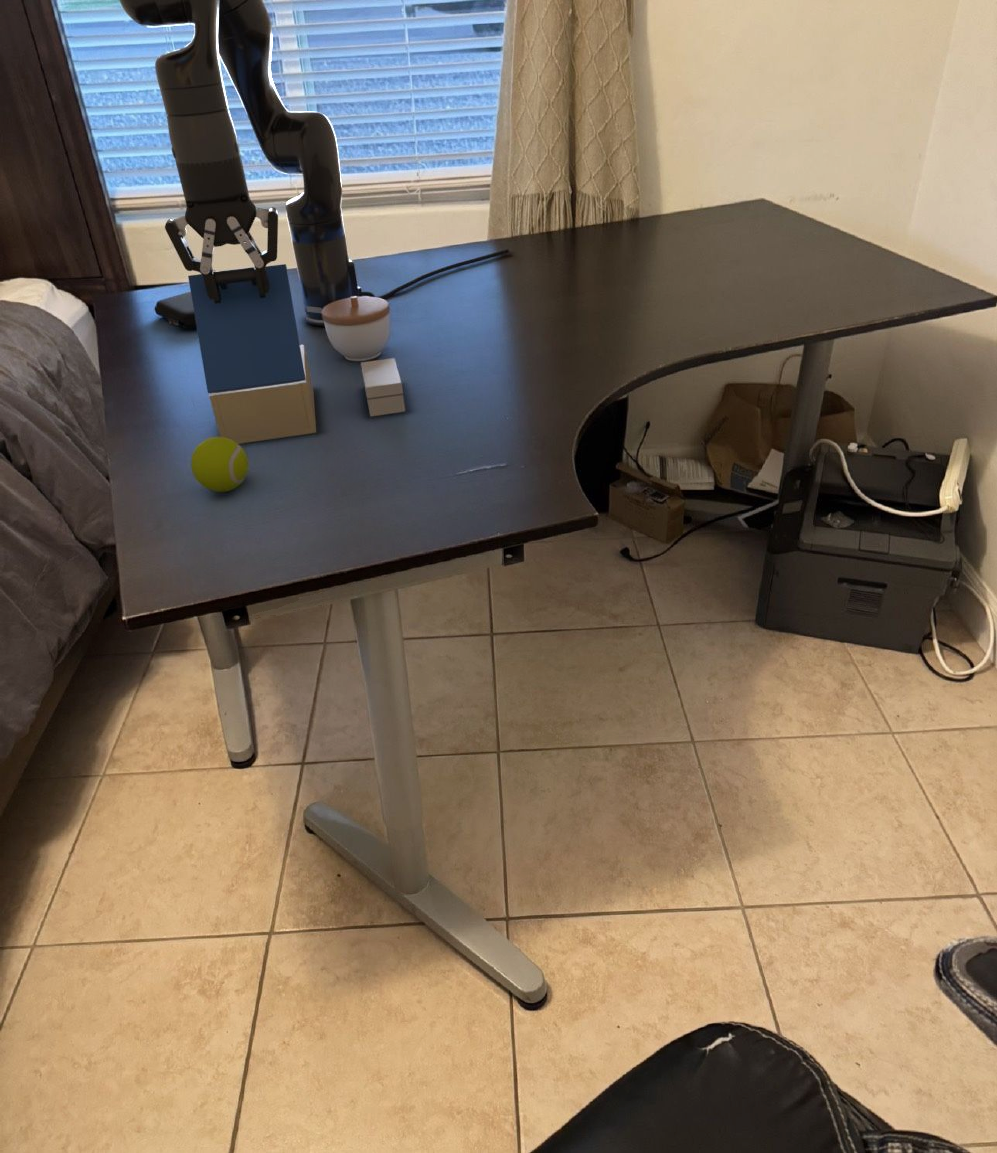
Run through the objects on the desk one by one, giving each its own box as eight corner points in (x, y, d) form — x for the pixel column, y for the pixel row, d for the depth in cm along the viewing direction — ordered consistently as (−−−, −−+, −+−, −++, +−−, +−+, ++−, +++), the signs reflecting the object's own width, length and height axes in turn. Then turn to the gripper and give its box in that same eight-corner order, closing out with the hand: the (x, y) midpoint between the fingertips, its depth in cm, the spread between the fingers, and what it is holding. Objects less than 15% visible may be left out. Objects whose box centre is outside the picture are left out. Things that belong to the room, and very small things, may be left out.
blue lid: (189, 277, 113) (180, 264, 109) (286, 266, 115) (282, 252, 110) (208, 393, 113) (201, 384, 108) (305, 380, 115) (302, 371, 110)
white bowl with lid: (342, 372, 136) (331, 313, 130) (321, 351, 144) (310, 295, 138) (405, 356, 139) (397, 298, 134) (381, 337, 147) (373, 281, 142)
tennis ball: (217, 472, 111) (204, 425, 107) (263, 477, 109) (251, 429, 105) (188, 499, 106) (172, 450, 102) (236, 504, 104) (222, 455, 100)
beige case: (364, 390, 130) (360, 362, 127) (398, 385, 130) (394, 357, 128) (369, 417, 122) (365, 387, 119) (405, 411, 123) (401, 382, 120)
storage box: (228, 402, 129) (216, 355, 125) (313, 391, 131) (304, 344, 126) (222, 446, 117) (209, 396, 113) (316, 432, 119) (306, 383, 115)
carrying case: (147, 318, 163) (182, 335, 154) (142, 302, 162) (177, 319, 152) (199, 303, 169) (236, 319, 160) (195, 287, 167) (232, 302, 158)
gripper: (269, 144, 106) (296, 284, 116) (149, 156, 104) (186, 297, 114) (268, 153, 100) (296, 300, 110) (140, 166, 98) (180, 314, 108)
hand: (240, 298), depth 112 cm, fingers closed on blue lid, 5 cm apart
